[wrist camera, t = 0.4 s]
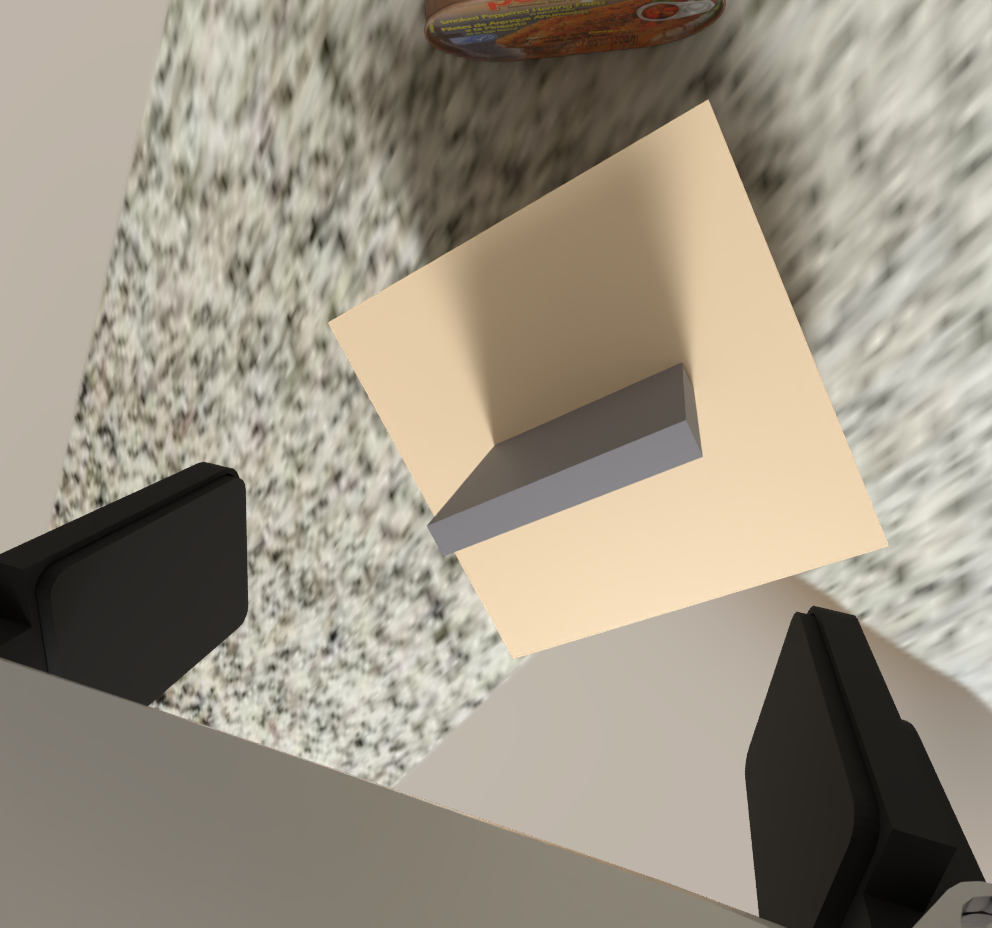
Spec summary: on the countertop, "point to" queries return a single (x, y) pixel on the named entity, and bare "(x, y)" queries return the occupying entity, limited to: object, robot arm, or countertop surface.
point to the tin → (560, 26)
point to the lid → (614, 399)
